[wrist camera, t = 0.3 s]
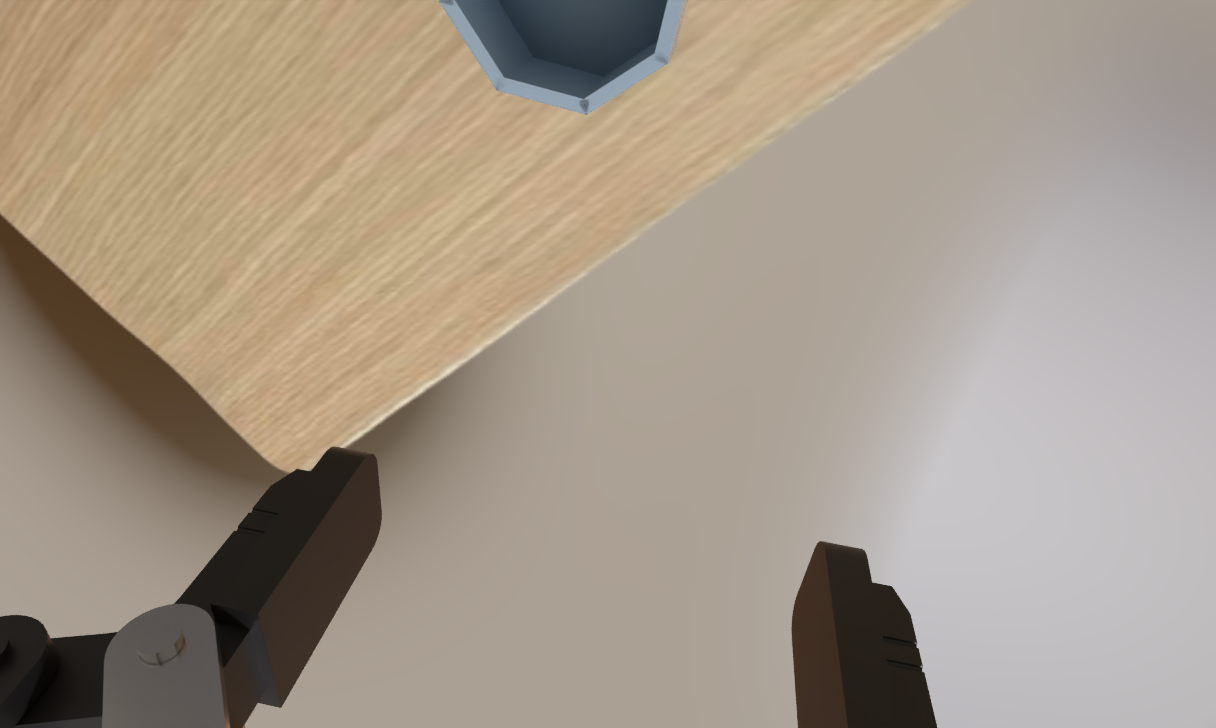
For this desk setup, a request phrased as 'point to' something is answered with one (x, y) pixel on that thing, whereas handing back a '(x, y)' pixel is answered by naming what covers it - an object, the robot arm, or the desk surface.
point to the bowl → (568, 45)
